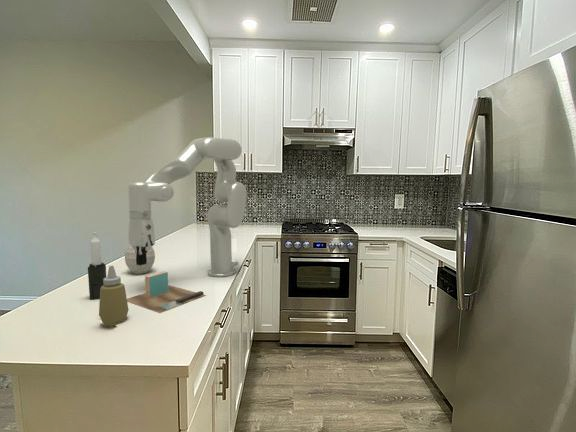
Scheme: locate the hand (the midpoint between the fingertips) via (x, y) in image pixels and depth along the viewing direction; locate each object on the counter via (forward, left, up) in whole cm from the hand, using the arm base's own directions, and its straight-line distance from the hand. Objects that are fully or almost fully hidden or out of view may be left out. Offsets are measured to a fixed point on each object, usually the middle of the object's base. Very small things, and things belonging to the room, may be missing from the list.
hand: (141, 264), depth 130 cm
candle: (+12, -8, -12) cm, 19 cm away
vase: (-18, -28, -12) cm, 35 cm away
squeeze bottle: (+20, +16, -12) cm, 29 cm away
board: (-1, +13, -12) cm, 17 cm away
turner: (-2, +21, -11) cm, 23 cm away
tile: (-1, +8, -11) cm, 13 cm away
